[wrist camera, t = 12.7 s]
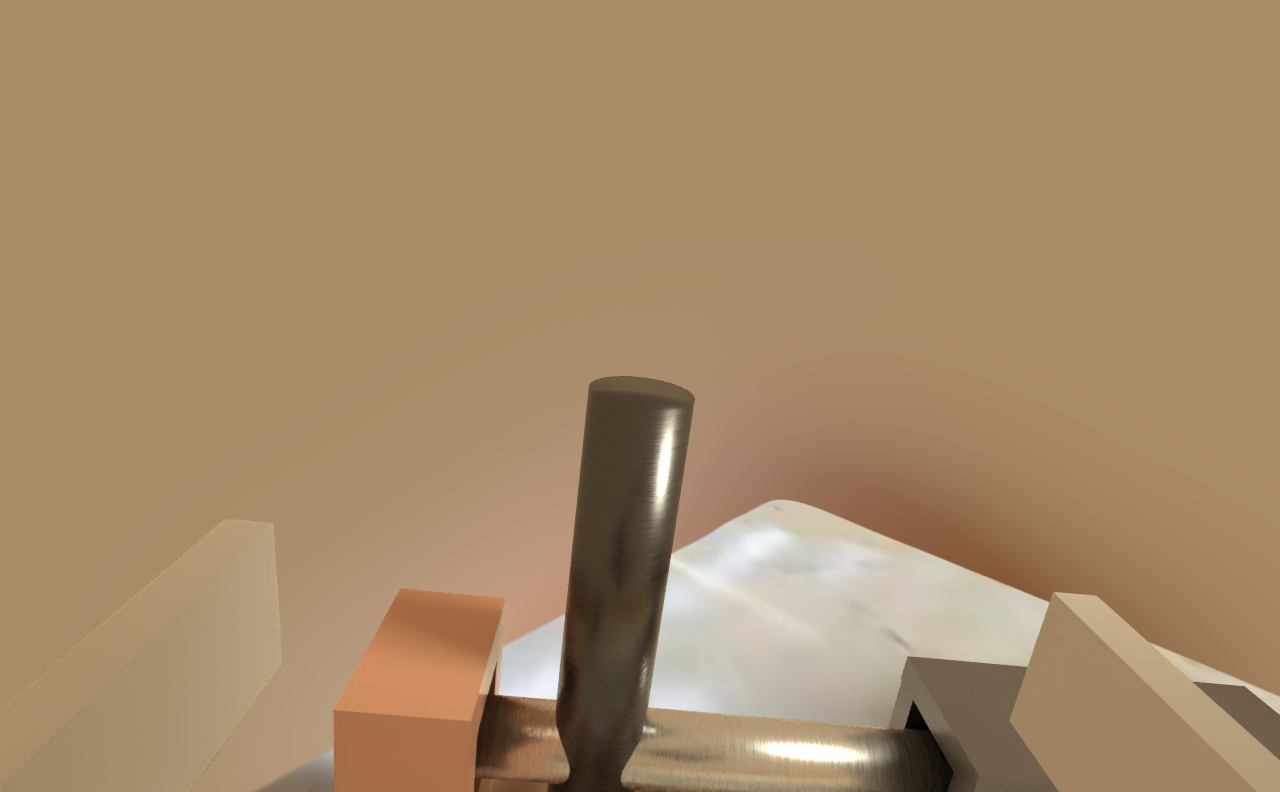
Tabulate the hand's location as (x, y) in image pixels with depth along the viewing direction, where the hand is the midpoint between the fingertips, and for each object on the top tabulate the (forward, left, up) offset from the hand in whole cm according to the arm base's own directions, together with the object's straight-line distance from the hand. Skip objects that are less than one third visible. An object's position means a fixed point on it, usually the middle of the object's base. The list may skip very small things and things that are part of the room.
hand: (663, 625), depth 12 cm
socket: (+7, -12, -22) cm, 26 cm away
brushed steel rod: (-5, -12, -20) cm, 24 cm away
